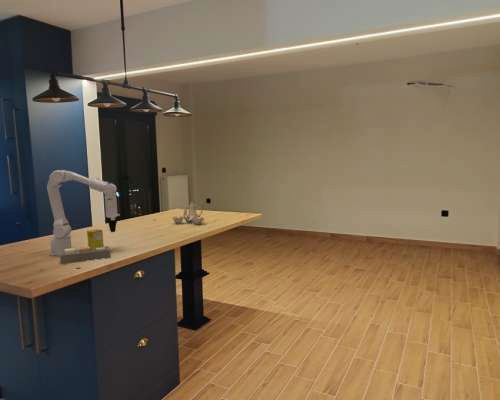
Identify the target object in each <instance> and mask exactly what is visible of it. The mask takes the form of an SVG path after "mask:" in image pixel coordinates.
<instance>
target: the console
mask: <svg viewBox="0 0 500 400" xmlns="http://www.w3.org/2000/svg"><path fill="white" fill-rule="evenodd" d="M104 247H105V250H96V248H101V247H96V248H90V251H88V252H81V251H80V248H79V249H75V253H71V254H65V251H61V255H60V256H59V257H60V264H61V265H64V264H72V263H79V262H86V261H87V260H89V261H96V260H95V259H97V260H103V259H102V258H105V259H111V250H110V247H109V246H108V245H107V246H106V245H105V246H104ZM87 262H88V261H87Z"/></svg>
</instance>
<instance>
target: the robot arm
mask: <svg viewBox="0 0 500 400" xmlns="http://www.w3.org/2000/svg"><path fill="white" fill-rule="evenodd" d="M68 181H75V182H79V183H81V184H85V185H88V187H89V189H92V190H94V191H97V192H100V193H103V194H104V204H105V205H104V207H105V218H106V219H105V220H106V222H107V224H108V226H109V231H110V233H115V232H116V229H117V228H116V227H117V223H118V220H119V219H118V217H119V216H121V215H120V214H121V213H118V205H117V203H118V201H117V194H116V192H117V186H116V185H115V184H113V183H112V182H110V183H109V181H104V180H101V179H100V178H99V177H96V178H95V177H94V178H92V179H91V178H88V177H86V176H83V175H81V174H78V173H76V172H74V171H69V170H66V169H61V170H60V169H57V170H54V171H52V172H51V174H49V178H48V181H47V185H46V190H47V195H48V199H49V203H50V207H51V212H52V215H53V216H52V217H53V221H54V222H53V225H52V226H53V230H52V234H53V236H54V237H53V238H51V239H50V243H49V244H50V253H51V254H50V256H59V257H60V255H61V251H65V249H71V248H72V247H73V246H72V237H71V232H72V226H71V225H70V224H69V220H68V219H67V218H66V214H65V210H64V205H63V201H62V196H61V192H60V190H59V189H60V188H61V187H62V185H63V184H65V183H66V182H68Z"/></svg>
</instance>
